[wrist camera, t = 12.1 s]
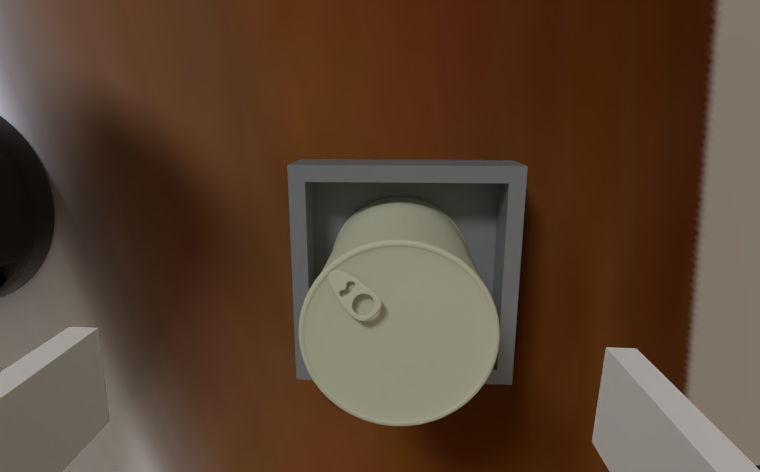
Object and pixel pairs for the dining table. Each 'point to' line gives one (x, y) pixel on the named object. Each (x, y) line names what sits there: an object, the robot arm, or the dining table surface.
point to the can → (399, 317)
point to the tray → (427, 183)
